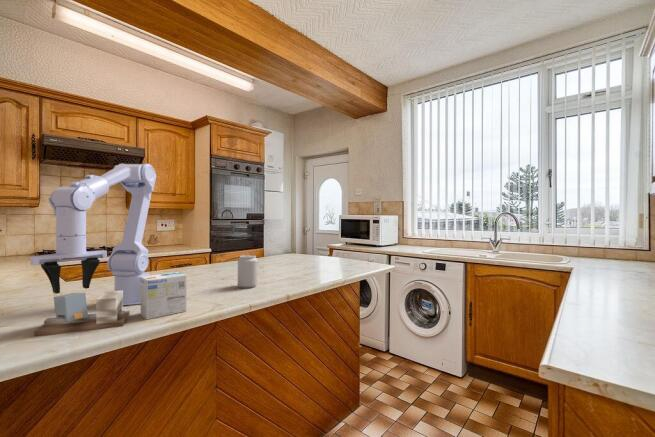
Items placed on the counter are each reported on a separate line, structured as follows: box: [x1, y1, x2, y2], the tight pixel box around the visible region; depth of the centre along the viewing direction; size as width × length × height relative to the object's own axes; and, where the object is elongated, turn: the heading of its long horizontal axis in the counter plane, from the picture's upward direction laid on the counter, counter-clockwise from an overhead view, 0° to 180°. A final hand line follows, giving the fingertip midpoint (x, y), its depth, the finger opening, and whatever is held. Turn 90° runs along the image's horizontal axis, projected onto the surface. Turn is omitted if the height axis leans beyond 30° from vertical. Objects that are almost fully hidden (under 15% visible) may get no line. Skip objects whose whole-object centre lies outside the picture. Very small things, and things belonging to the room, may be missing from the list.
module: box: [53, 292, 89, 322], centre depth 76 cm, size 4×9×6 cm, turn 57°
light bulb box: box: [140, 271, 188, 320], centre depth 87 cm, size 11×7×11 cm, turn 135°
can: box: [237, 254, 259, 289], centre depth 119 cm, size 8×8×12 cm
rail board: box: [33, 290, 131, 337], centre depth 77 cm, size 17×9×7 cm, turn 114°
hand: (71, 290), depth 76 cm, fingers open, 5 cm apart
